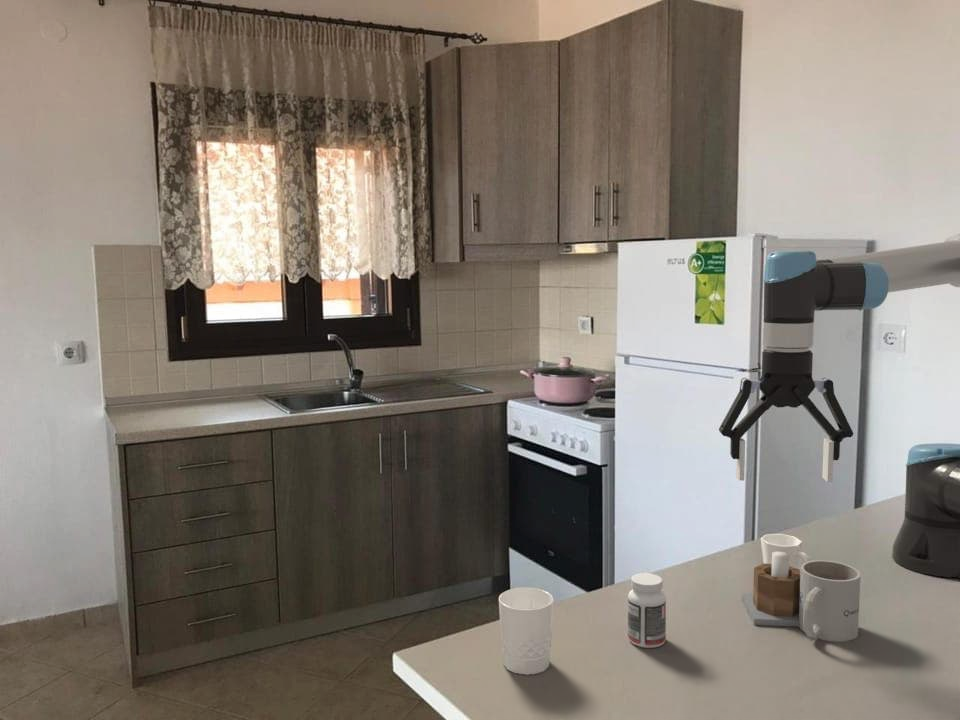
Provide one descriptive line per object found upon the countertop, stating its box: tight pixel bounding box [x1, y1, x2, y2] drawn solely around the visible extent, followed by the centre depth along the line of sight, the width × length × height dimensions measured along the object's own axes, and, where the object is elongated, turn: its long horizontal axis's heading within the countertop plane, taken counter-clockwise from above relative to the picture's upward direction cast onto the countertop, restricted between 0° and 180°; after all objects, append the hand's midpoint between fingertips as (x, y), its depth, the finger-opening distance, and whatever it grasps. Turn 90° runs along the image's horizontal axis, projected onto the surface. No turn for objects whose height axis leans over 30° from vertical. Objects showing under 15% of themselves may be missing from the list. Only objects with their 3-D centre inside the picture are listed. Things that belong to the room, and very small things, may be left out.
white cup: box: [498, 587, 554, 676], centre depth 117 cm, size 8×8×10 cm
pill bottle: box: [627, 572, 667, 649], centre depth 123 cm, size 6×6×10 cm
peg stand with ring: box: [741, 552, 800, 628], centre depth 132 cm, size 10×10×10 cm
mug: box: [799, 559, 861, 643], centre depth 126 cm, size 12×9×10 cm
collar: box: [752, 563, 801, 617], centre depth 133 cm, size 7×7×6 cm
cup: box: [760, 533, 811, 569], centre depth 143 cm, size 7×10×8 cm
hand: (783, 479), depth 130 cm, fingers open, 13 cm apart
